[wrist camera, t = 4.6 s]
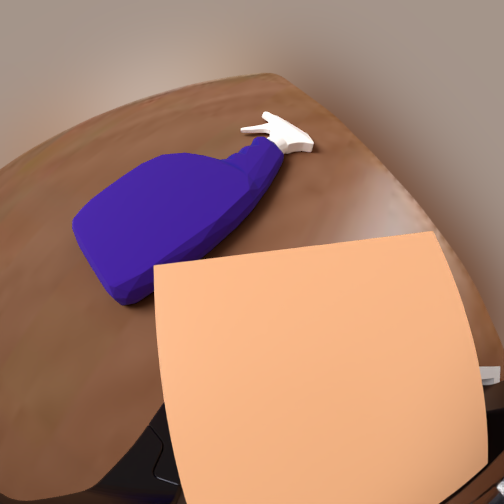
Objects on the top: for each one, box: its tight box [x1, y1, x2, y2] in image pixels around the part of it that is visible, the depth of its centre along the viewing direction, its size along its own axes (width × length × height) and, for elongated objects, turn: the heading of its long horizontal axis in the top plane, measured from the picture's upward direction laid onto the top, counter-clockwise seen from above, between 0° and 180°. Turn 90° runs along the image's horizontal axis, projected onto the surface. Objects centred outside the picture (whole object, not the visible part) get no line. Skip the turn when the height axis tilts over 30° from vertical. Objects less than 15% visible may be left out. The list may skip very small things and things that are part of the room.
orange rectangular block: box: [154, 231, 488, 504], centre depth 8 cm, size 4×4×13 cm
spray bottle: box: [72, 111, 314, 305], centre depth 23 cm, size 3×11×24 cm
